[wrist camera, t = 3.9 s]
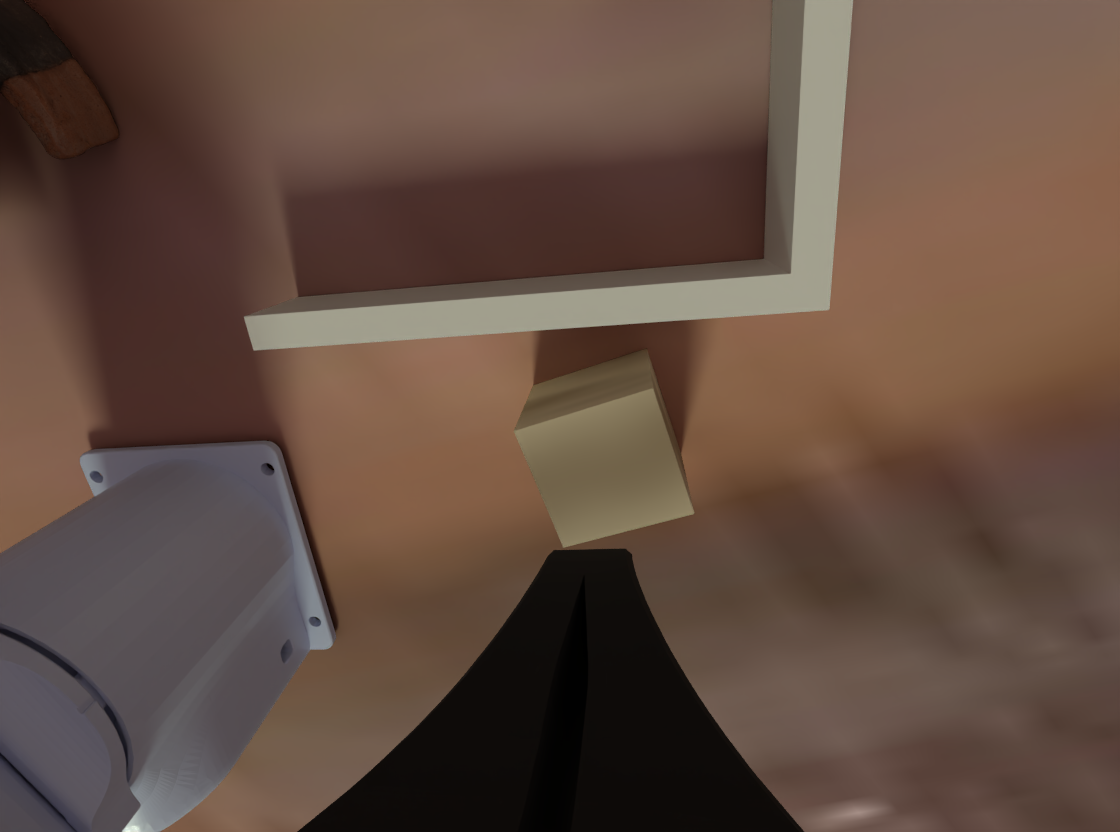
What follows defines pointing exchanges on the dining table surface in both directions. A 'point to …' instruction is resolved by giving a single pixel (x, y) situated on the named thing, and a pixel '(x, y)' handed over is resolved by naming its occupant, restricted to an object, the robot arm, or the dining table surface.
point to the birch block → (604, 450)
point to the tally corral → (654, 293)
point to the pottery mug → (49, 85)
